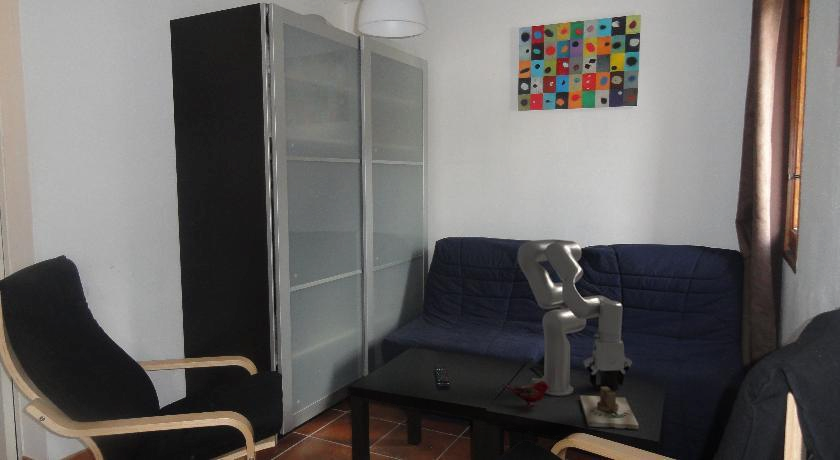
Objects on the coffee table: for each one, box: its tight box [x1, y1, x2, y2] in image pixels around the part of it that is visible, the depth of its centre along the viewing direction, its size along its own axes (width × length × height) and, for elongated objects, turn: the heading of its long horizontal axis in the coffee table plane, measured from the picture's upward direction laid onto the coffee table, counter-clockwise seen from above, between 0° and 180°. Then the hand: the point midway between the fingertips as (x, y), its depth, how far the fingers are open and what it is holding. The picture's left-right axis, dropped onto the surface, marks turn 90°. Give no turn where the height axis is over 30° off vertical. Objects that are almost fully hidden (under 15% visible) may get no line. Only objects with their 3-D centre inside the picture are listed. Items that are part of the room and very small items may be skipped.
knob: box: [597, 386, 618, 415], centre depth 205 cm, size 10×7×6 cm, turn 6°
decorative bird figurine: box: [502, 381, 550, 408], centre depth 214 cm, size 3×18×10 cm, turn 62°
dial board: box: [579, 394, 640, 430], centre depth 207 cm, size 16×24×2 cm, turn 171°
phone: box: [530, 364, 544, 378], centre depth 249 cm, size 8×1×15 cm
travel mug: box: [599, 370, 621, 391], centre depth 232 cm, size 8×8×20 cm
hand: (606, 384), depth 207 cm, fingers open, 9 cm apart
